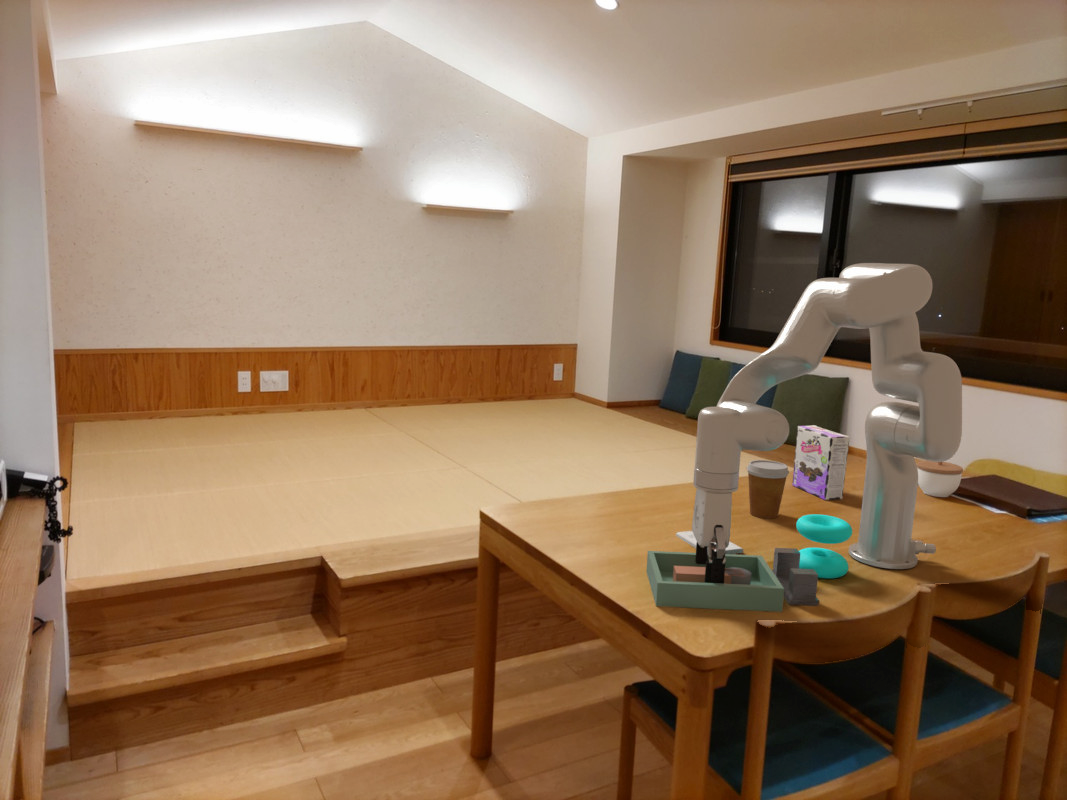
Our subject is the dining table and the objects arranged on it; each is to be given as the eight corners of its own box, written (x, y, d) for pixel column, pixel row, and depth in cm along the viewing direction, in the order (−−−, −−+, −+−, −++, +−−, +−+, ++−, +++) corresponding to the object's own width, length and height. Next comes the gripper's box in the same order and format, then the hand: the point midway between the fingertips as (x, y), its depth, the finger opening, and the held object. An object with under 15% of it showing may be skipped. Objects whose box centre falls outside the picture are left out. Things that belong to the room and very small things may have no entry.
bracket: (769, 575, 146) (771, 547, 145) (796, 576, 146) (798, 548, 145) (789, 604, 133) (791, 574, 132) (818, 606, 133) (821, 575, 132)
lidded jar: (917, 497, 201) (921, 461, 200) (910, 486, 211) (914, 452, 210) (963, 502, 198) (968, 466, 197) (954, 490, 208) (958, 456, 207)
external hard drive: (708, 560, 154) (675, 539, 166) (743, 555, 157) (708, 535, 169) (709, 552, 154) (675, 531, 165) (743, 548, 157) (708, 528, 168)
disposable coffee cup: (780, 509, 187) (784, 460, 185) (789, 522, 178) (793, 471, 176) (739, 506, 188) (743, 458, 186) (746, 519, 179) (750, 468, 177)
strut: (675, 590, 136) (676, 574, 136) (672, 580, 141) (673, 564, 140) (752, 594, 136) (754, 578, 135) (746, 583, 140) (748, 568, 140)
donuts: (862, 521, 148) (838, 533, 141) (856, 571, 149) (833, 585, 142) (811, 508, 154) (787, 519, 148) (807, 557, 156) (782, 569, 149)
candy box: (791, 485, 209) (796, 425, 206) (809, 484, 210) (815, 424, 207) (824, 500, 196) (830, 436, 193) (844, 499, 197) (850, 435, 195)
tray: (759, 576, 145) (761, 555, 144) (782, 611, 130) (784, 588, 130) (646, 571, 146) (647, 550, 145) (656, 606, 131) (657, 582, 130)
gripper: (686, 465, 143) (680, 555, 146) (703, 492, 126) (695, 593, 129) (727, 467, 143) (720, 556, 146) (749, 494, 126) (741, 595, 129)
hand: (708, 573), depth 138 cm, fingers open, 8 cm apart
